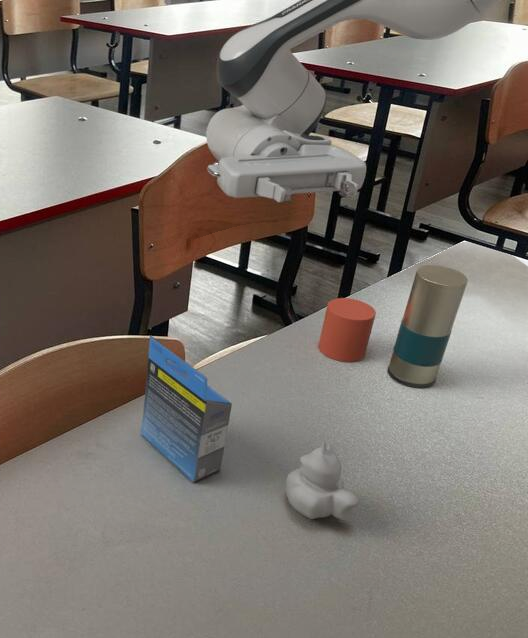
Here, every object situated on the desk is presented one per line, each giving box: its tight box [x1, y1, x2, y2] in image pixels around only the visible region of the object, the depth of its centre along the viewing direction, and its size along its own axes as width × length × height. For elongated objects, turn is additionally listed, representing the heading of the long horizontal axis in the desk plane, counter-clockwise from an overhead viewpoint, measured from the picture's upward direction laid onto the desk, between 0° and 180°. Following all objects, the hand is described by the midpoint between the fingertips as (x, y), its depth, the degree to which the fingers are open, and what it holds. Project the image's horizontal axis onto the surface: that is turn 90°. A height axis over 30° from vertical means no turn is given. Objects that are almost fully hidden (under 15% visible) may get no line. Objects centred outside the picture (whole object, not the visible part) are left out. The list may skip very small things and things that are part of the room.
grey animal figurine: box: [285, 440, 359, 521], centre depth 69 cm, size 5×7×8 cm
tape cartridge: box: [140, 335, 233, 483], centre depth 75 cm, size 9×4×12 cm, turn 31°
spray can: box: [387, 264, 469, 389], centre depth 88 cm, size 5×5×14 cm
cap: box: [317, 297, 377, 363], centre depth 94 cm, size 6×6×6 cm
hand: (319, 194), depth 98 cm, fingers open, 8 cm apart
